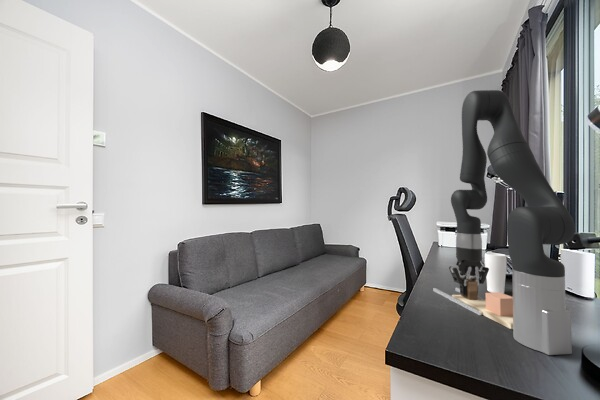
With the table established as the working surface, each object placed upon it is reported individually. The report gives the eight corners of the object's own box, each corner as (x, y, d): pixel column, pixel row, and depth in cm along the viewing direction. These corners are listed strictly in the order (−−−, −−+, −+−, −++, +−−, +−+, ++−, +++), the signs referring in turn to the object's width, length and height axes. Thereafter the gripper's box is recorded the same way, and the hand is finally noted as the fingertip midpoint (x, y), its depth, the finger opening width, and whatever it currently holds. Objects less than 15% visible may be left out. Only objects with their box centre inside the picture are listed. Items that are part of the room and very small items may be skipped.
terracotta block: (516, 315, 72) (515, 298, 72) (500, 316, 71) (500, 298, 71) (500, 308, 77) (500, 292, 77) (485, 309, 76) (485, 292, 76)
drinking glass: (481, 290, 98) (480, 253, 99) (490, 288, 101) (490, 252, 102) (500, 296, 92) (500, 256, 93) (510, 294, 95) (510, 255, 95)
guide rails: (509, 314, 76) (509, 310, 76) (479, 315, 75) (479, 311, 75) (457, 290, 98) (457, 287, 98) (433, 291, 97) (433, 287, 97)
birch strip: (537, 328, 67) (536, 300, 67) (510, 329, 66) (510, 301, 67) (472, 298, 89) (472, 277, 89) (452, 299, 88) (452, 278, 88)
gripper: (458, 248, 82) (458, 300, 81) (496, 247, 83) (497, 299, 83) (442, 244, 89) (442, 292, 89) (478, 244, 91) (478, 291, 90)
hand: (469, 295), depth 86 cm, fingers closed on birch strip, 3 cm apart
